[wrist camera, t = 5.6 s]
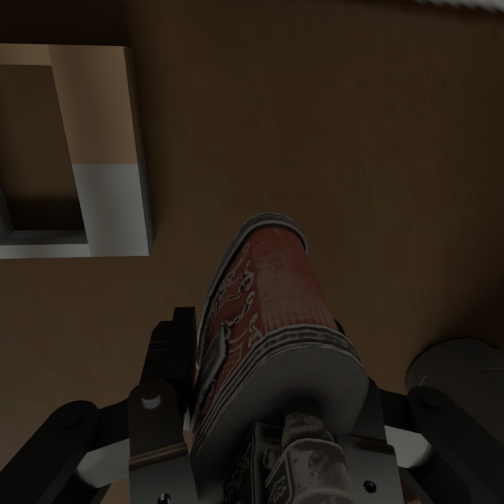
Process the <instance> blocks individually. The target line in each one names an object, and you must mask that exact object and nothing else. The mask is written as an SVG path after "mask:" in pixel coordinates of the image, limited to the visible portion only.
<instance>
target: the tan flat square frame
mask: <svg viewBox="0 0 504 504" xmlns="http://www.w3.org/2000/svg"><path fill="white" fill-rule="evenodd" d="M0 64H13V65H52V70H53V75H54V80H55V85H56V90H57V94H58V99H59V104H60V109H61V114H62V119H63V124H64V128H65V133H66V138H67V143H68V148H69V153H70V158H71V163H72V167H73V172H74V177H75V182H76V187H77V192H78V197H79V201H80V206H81V211H82V216H83V221H84V226H85V229H82V230H17V231H15V230H14V227H13V224H12V220H11V217H10V214H9V210H8V207H7V204H6V200H5V197H4V194H3V190H2V187H1V184H0V259H9V258H56V257H103V256H149V254H150V251H151V248H152V246H153V243H154V233H153V224H152V215H151V207H150V198H149V189H148V180H147V171H146V163H145V154H144V145H143V136H142V127H141V119H140V110H139V101H138V92H137V83H136V75H135V66H134V57H133V48H132V47H125V46H91V45H48V44H4V43H0Z"/></svg>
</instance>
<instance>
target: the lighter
mask: <svg viewBox="0 0 504 504" xmlns="http://www.w3.org/2000/svg"><path fill="white" fill-rule="evenodd" d="M307 255H308V244H307V242H306V240H305V237H304V235H303V233H302V231H301V228H300V227H299V226H298V225H297V223H296V222H295V221H294V220H293V219H291V218H289V217H287V216H285V215H283V214H278V213H272V212H269V213H261V214H258V215H255V216H253V217H251V218H249V219H248V220H247V221H246V222H245V223H244V224H243V225H242V227H241V228H240V230H239V232H238V233H237V235H236V236H235V238H234V239H233V241H232V243H231V244H230V246H229V247H228V249H227V250H226V252H225V254H224V255H223V257H222V259H221V261H220V263H219V266H218V268H217V270H216V272H215V274H214V276H213V278H212V280H211V283H210V285H209V287H208V290H207V293H206V297H205V300H204V304H203V308H202V311H201V315H200V318H199V326H198V334H197V360H196V367H197V369H198V377H197V380H196V384H195V387H194V390H193V398H192V409H191V420H190V426H189V429H190V431H191V433H193V438H192V449H191V452H190V455H189V457H190V462H191V467H192V472H193V476H194V481H195V486H196V491H197V496H198V501H199V504H358V500H357V496H356V493H355V490H354V486H353V483H352V480H351V477H350V473H349V470H348V467H347V463H346V460H345V457H344V453H343V450H342V448H341V447H340V446H339V445H338V444H335V442H334V435H348V434H350V433H351V431H352V428H353V426H354V424H355V421H356V419H357V417H358V414H359V412H360V410H361V407H362V405H363V402H364V400H365V398H366V395H367V392H368V385H369V379H368V377H367V374H366V372H365V369H364V367H363V365H362V362H361V360H360V358H359V356H358V354H357V351H356V349H355V347H354V345H353V343H352V342H351V341H349V340H348V339H347V338H346V337H345V336H344V335H343V334H342V333H340V332H339V331H338V328H337V326H336V323H335V321H334V319H333V316H332V314H331V312H330V309H329V307H328V305H327V302H326V300H325V297H324V295H323V293H322V290H321V288H320V286H319V283H318V281H317V279H316V276H315V274H314V271H313V269H312V267H311V264H310V262H309V260H308V257H307Z"/></svg>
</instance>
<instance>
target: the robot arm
mask: <svg viewBox="0 0 504 504" xmlns="http://www.w3.org/2000/svg"><path fill="white" fill-rule="evenodd" d="M333 319H334V318H333ZM334 321H335V323H336V326H337V328H338V331H339V332H340V333H342V334H343V335H344V336H345V333H344V331H343V329H342V326H341V324H340V323H338V322H337V321H336V320H335V319H334ZM345 337H346V336H345ZM346 338H347V337H346ZM196 360H197V331H196V315H195V307H175V309H174V315H173V320H172V321H160V323H159V324H158V325H157V326H156V327H155V328H154V330H153V331H152V335H151V339H150V343H149V347H148V351H147V355H146V359H145V363H144V367H143V371H142V375H141V379H140V383H139V384H138V385H137V386H135V387H134V388H133V389H132V390H131V392H130V393H129V395H128V398H127V399H125V400H123V401H121V402H119V403H117V404H114V405H111V406H107V407H104V408H101V409H98V408H97V407H96V405H95V404H93V403H92V402H89V401H85V400H78V401H73V402H70V403H67V404H65V405H63V406H61V407H60V408H58V409H57V410H55V411H54V412H53V413H52V414H51V415H50V416H49V418H48V419H47V420H46V421H45V422H44V423H43V424H42V425H41V427H40V428H39V429H38V430H37V431H36V432H35V433H34V434H33V436H32V437H31V438H30V439H29V440H28V441H27V442H26V443H25V445H24V446H23V447H22V448H21V449H20V450H19V451H18V452H17V454H16V455H15V456H14V457H13V458H12V459H11V460H10V462H9V463H8V464H7V465H6V466H5V467H4V468H3V469H2V471H1V472H0V504H100V502H101V501H102V499H103V497H104V496H105V494H106V492H107V491H108V489H109V487H110V485H111V483H113V482H116V481H118V480H121V479H123V478H126V477H129V490H130V504H199V501H198V496H197V491H196V486H195V481H194V476H193V472H192V467H191V462H190V457H189V452H188V448H187V444H185V440H184V435H183V430H190V429H189V426H190V420H191V409H192V398H193V390H194V385H195V372H196ZM367 377H368V379H369V385H368V392H367V395H366V398H365V400H364V402H363V405H362V407H361V410H360V412H359V414H358V417H357V419H356V421H355V424H354V426H353V428H352V431H351V433H350V434H348V435H334V442H335V444H338V445H339V446H340V447H341V448H342V450H343V453H344V457H345V460H346V463H347V467H348V470H349V473H350V477H351V480H352V483H353V486H354V490H355V493H356V496H357V500H358V504H404V500H403V494H402V488H401V482H400V476H401V478H402V479H403V480H404V481H405V483H406V484H407V485H408V486H409V488H410V489H411V490H412V491H413V493H414V494H415V495H416V497H417V498H418V499H419V500H420V502H421V503H422V504H504V351H503V350H502V349H500V348H499V349H494V348H490V347H489V346H488V345H486V344H485V343H484V342H481V341H478V340H475V339H469V338H464V339H454V340H449V341H446V342H443V343H440V344H438V345H436V346H434V347H432V348H430V349H428V350H427V351H426V352H424V353H423V354H422V355H420V356H419V357H418V358H417V359H416V360H415V361H414V363H413V364H412V366H411V367H410V368H409V371H408V373H407V375H406V382H405V384H406V389H407V391H408V394H407V395H402V394H398V393H393V392H389V391H385V390H382V389H380V388H378V386H377V384H376V383H375V381H374V380H373V379H372V378H370V377H369V376H367ZM399 475H400V476H399Z"/></svg>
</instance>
